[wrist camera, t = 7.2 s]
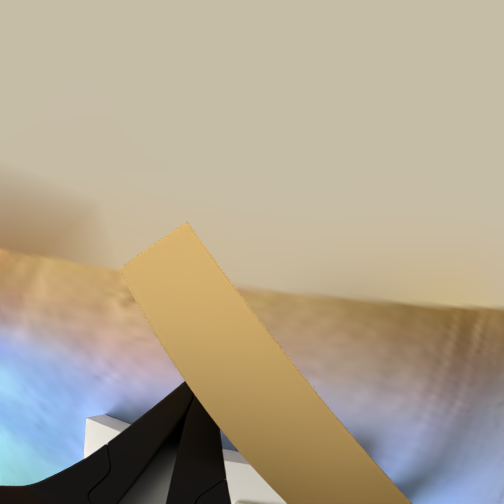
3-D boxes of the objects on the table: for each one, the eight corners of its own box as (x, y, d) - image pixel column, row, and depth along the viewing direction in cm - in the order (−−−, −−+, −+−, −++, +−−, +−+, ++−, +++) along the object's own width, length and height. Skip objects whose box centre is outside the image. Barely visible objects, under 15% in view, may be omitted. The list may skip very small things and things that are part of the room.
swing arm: (406, 507, 10) (494, 570, 1) (370, 535, 10) (436, 616, 1) (236, 302, 16) (201, 212, 7) (194, 331, 15) (106, 278, 6)
